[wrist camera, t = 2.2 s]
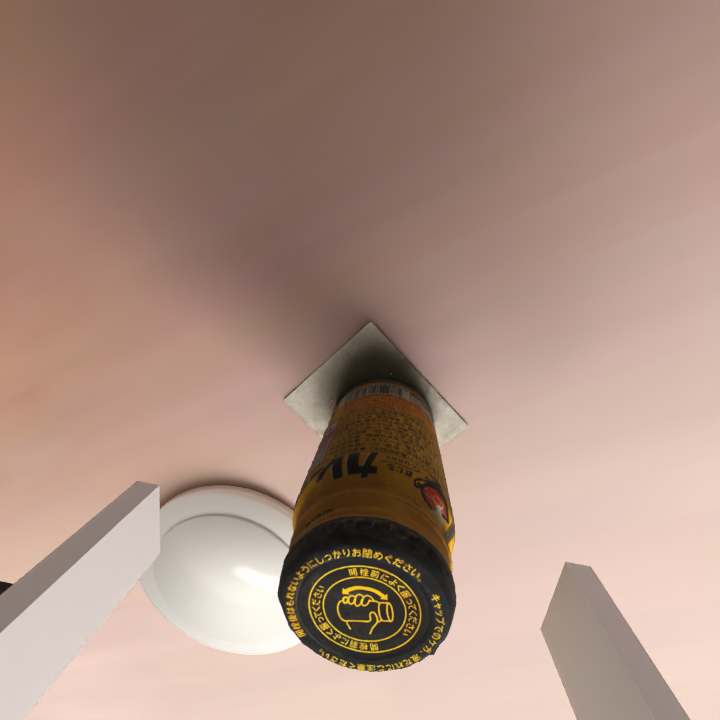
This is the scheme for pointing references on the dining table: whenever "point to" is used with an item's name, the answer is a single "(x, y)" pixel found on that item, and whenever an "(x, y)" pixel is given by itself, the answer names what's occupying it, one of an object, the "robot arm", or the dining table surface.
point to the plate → (223, 568)
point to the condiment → (372, 512)
